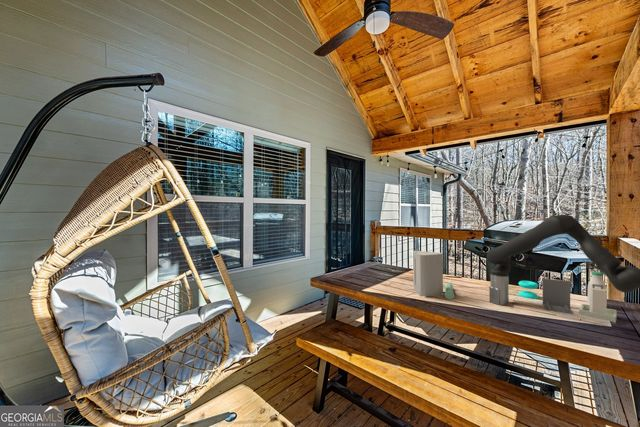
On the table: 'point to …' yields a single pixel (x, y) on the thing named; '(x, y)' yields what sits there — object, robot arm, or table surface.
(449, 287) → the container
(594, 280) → the milk bottle
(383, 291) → the table surface
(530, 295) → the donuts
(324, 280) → the table surface
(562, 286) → the printer bay
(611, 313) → the waste tray
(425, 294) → the tall grey box
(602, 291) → the grey tall block
